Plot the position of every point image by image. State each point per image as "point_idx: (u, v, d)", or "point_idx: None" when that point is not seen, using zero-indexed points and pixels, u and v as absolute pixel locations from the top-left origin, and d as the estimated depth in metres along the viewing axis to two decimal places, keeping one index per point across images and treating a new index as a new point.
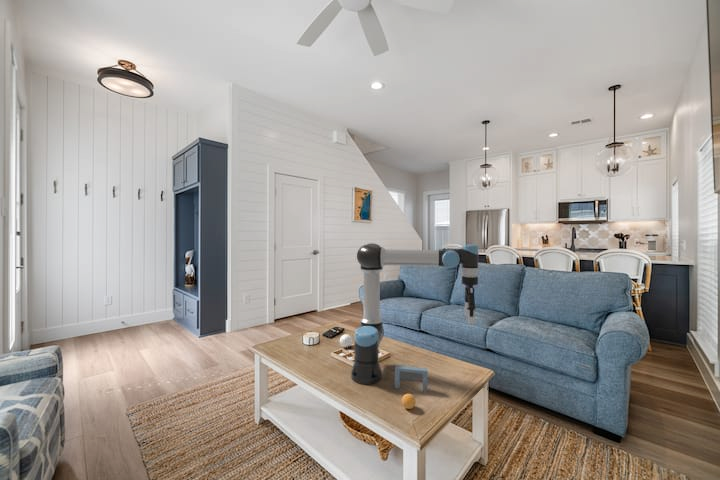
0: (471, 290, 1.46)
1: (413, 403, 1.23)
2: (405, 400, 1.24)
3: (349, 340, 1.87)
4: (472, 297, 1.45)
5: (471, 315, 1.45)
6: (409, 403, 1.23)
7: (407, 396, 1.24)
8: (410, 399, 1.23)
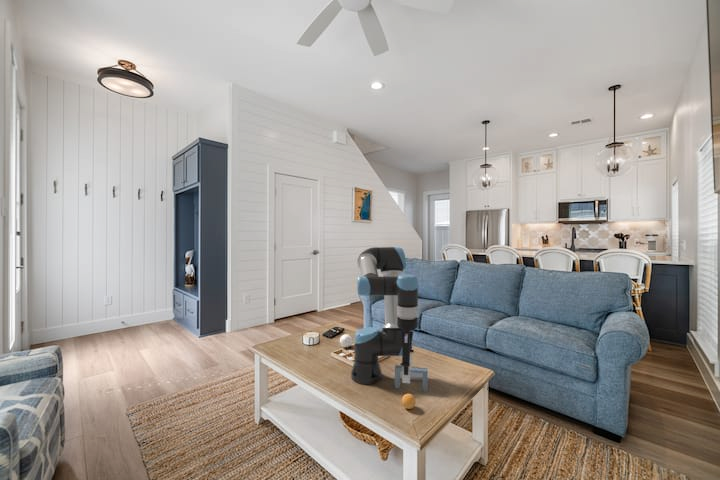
0: (406, 340, 1.08)
1: (413, 403, 1.23)
2: (405, 400, 1.24)
3: (349, 340, 1.87)
4: (406, 350, 1.08)
5: (405, 373, 1.09)
6: (409, 403, 1.23)
7: (407, 396, 1.24)
8: (410, 399, 1.23)
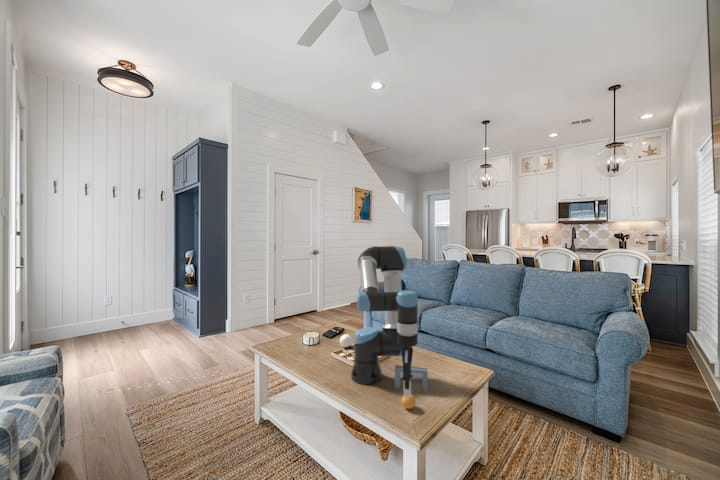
0: (406, 361, 1.09)
1: (413, 403, 1.23)
2: (405, 400, 1.24)
3: (349, 340, 1.87)
4: (407, 368, 1.10)
5: (406, 387, 1.14)
6: (409, 403, 1.23)
7: None
8: (410, 399, 1.23)
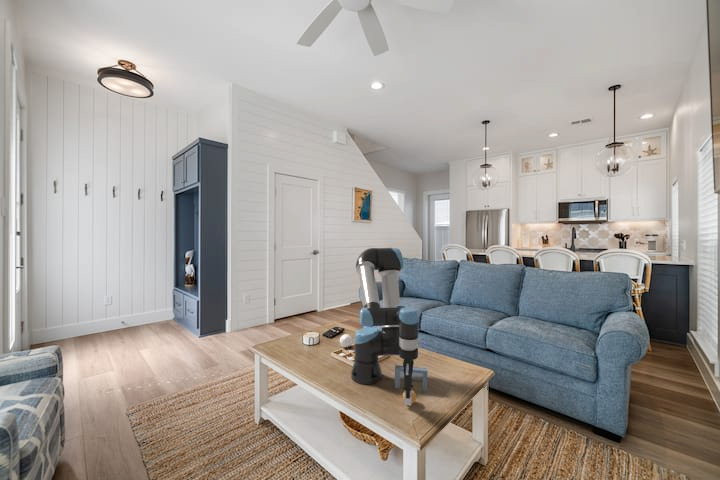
0: (407, 374, 1.19)
1: (414, 394, 1.27)
2: None
3: (349, 340, 1.87)
4: (408, 380, 1.20)
5: (407, 397, 1.23)
6: None
7: None
8: None
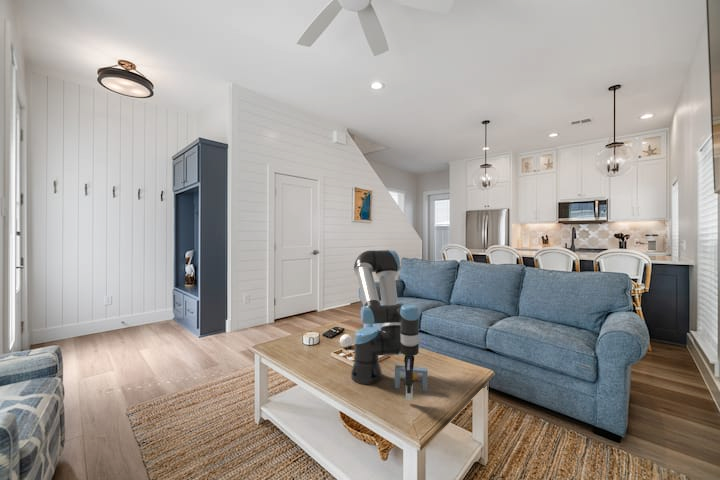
0: (408, 369, 1.22)
1: None
2: None
3: (349, 340, 1.87)
4: (409, 375, 1.23)
5: (408, 392, 1.26)
6: None
7: None
8: None
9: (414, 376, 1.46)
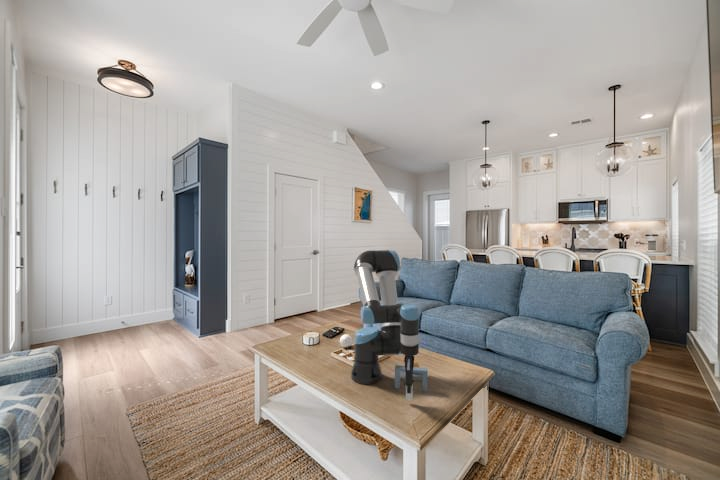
0: (408, 369, 1.22)
1: None
2: None
3: (349, 340, 1.87)
4: (409, 375, 1.23)
5: (408, 392, 1.26)
6: None
7: None
8: None
9: None
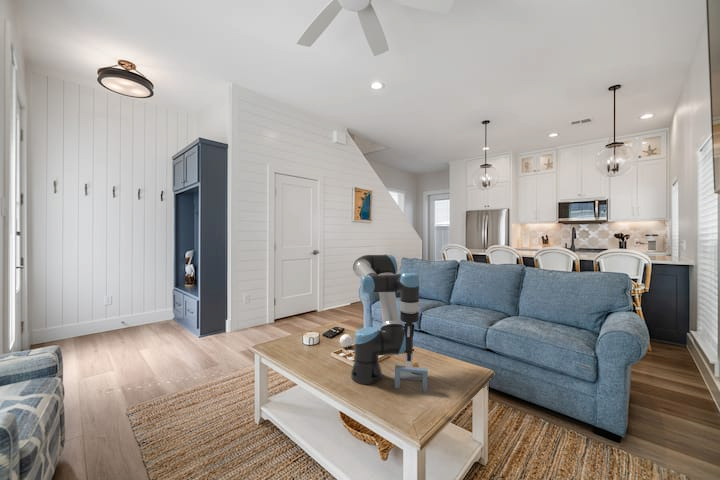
0: (408, 335, 1.22)
1: None
2: None
3: (349, 340, 1.87)
4: (409, 342, 1.23)
5: (408, 359, 1.26)
6: None
7: None
8: None
9: None
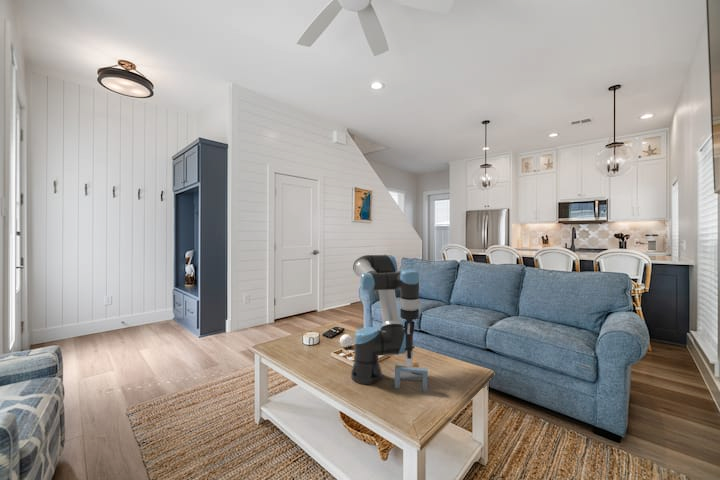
0: (408, 332, 1.21)
1: None
2: None
3: (349, 340, 1.87)
4: (409, 339, 1.23)
5: (408, 357, 1.26)
6: None
7: None
8: None
9: None
